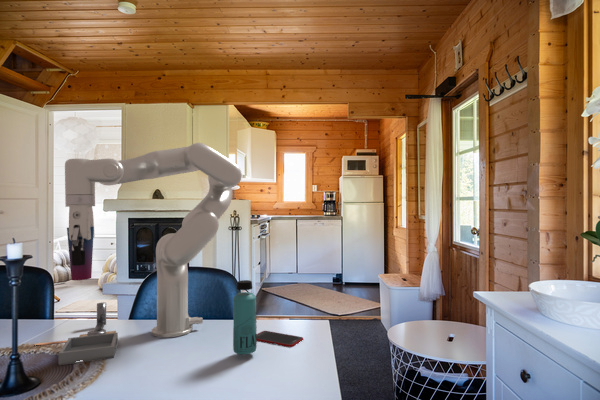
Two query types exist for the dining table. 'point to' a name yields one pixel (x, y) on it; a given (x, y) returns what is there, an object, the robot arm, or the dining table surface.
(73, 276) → the cup
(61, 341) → the crank base
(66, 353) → the tray
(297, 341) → the cell phone
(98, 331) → the crank
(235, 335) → the beverage bottle
